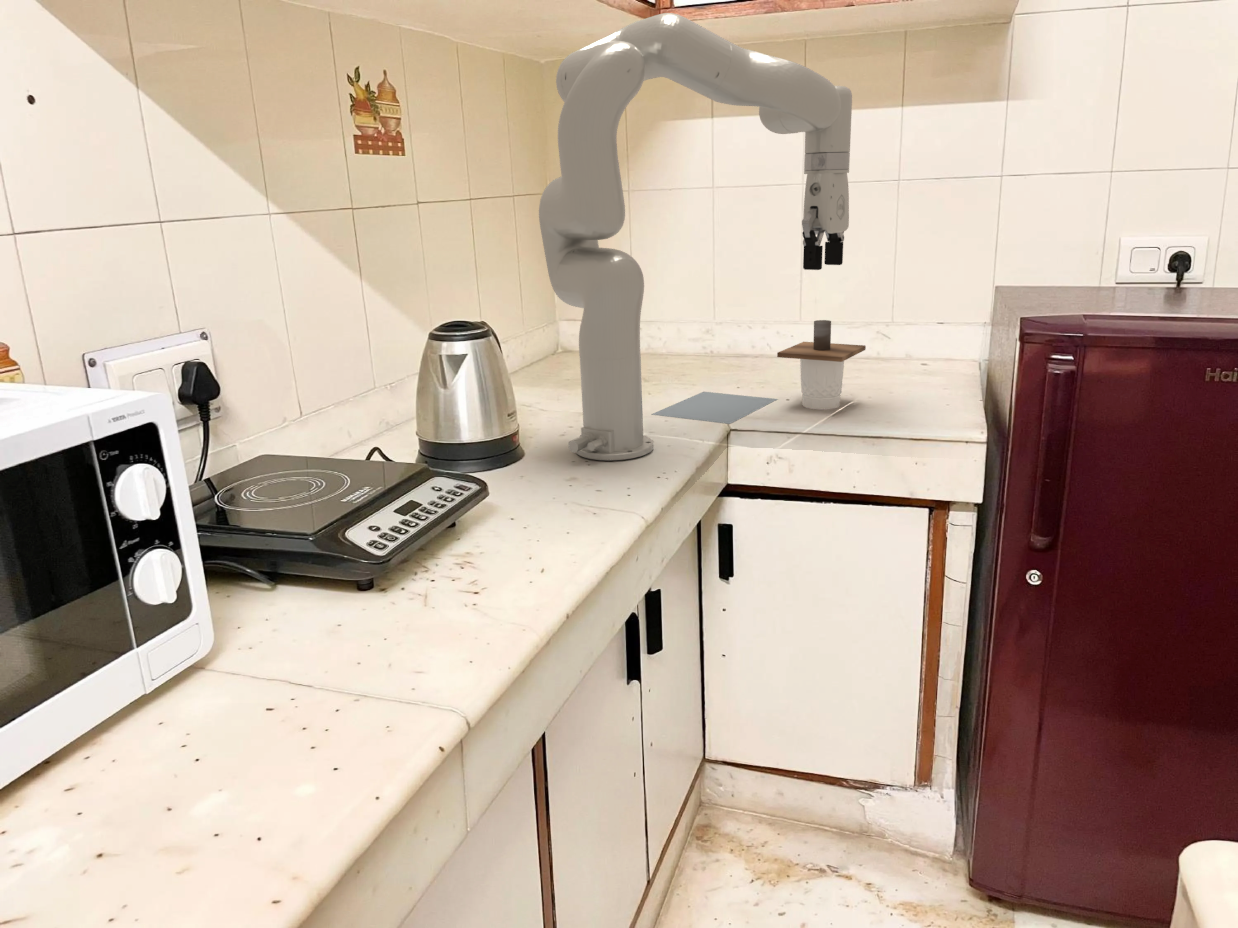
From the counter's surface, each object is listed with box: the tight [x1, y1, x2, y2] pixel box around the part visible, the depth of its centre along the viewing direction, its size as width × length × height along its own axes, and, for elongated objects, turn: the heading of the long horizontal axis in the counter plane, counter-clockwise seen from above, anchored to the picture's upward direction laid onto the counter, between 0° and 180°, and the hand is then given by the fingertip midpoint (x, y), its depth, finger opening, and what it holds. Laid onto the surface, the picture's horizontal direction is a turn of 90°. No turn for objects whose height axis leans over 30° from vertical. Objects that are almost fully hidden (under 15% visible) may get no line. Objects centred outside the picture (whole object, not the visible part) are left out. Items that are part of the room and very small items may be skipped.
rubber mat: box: [651, 391, 779, 425], centre depth 171 cm, size 20×16×1 cm
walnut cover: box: [776, 319, 866, 362], centre depth 165 cm, size 12×12×6 cm
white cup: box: [799, 359, 845, 411], centre depth 167 cm, size 8×8×10 cm
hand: (823, 267), depth 161 cm, fingers open, 9 cm apart
